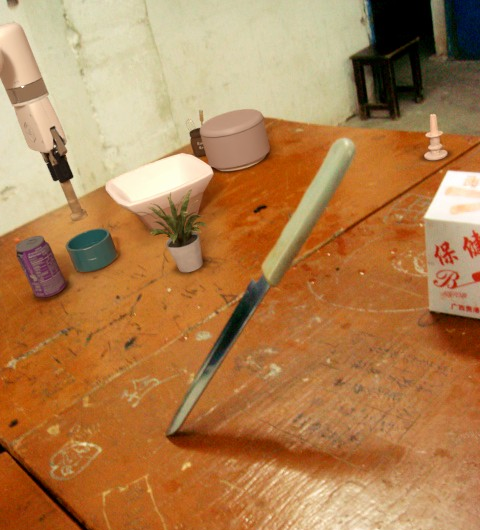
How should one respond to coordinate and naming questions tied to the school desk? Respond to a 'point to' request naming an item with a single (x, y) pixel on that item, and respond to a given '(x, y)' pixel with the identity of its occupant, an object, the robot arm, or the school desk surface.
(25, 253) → the beverage can
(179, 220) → the house plant
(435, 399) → the school desk surface
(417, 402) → the school desk surface
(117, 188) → the bowl
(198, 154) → the utensil holder
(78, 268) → the mixing bowl
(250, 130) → the container
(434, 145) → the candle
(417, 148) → the school desk surface
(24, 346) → the school desk surface
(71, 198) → the muddler
